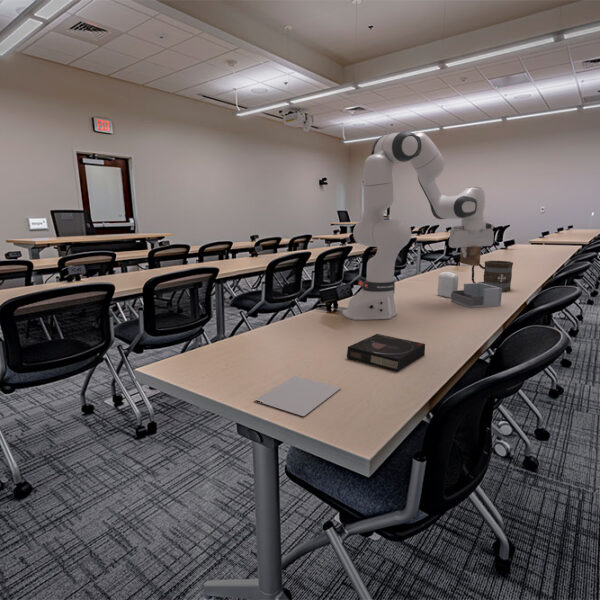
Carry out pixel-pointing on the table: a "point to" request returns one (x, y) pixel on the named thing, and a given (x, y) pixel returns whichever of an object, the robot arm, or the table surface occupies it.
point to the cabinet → (477, 295)
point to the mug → (497, 274)
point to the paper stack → (298, 395)
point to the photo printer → (447, 284)
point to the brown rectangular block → (471, 256)
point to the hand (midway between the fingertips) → (470, 257)
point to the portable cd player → (386, 352)
